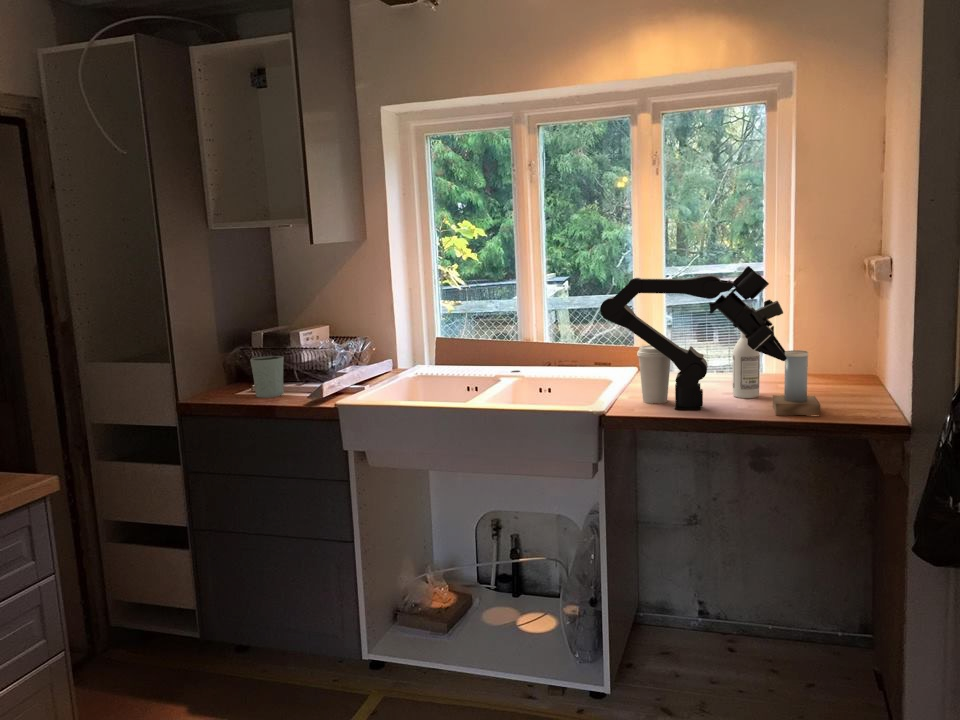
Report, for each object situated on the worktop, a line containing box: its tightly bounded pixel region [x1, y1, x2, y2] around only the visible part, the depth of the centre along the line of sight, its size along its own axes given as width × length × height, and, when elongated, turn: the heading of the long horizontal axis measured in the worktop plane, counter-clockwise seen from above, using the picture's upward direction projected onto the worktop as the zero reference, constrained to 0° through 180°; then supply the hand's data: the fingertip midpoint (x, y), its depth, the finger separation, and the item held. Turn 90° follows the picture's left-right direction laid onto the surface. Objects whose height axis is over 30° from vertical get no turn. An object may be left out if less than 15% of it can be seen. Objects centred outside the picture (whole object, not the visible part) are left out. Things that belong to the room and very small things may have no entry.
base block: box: [772, 394, 821, 417], centre depth 192 cm, size 10×10×3 cm
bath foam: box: [732, 331, 761, 399], centre depth 211 cm, size 7×7×20 cm
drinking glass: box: [249, 355, 285, 399], centre depth 245 cm, size 10×10×12 cm
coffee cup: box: [636, 344, 672, 404], centre depth 210 cm, size 10×10×15 cm
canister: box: [783, 350, 809, 402], centre depth 191 cm, size 5×5×12 cm
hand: (785, 356), depth 192 cm, fingers open, 9 cm apart
